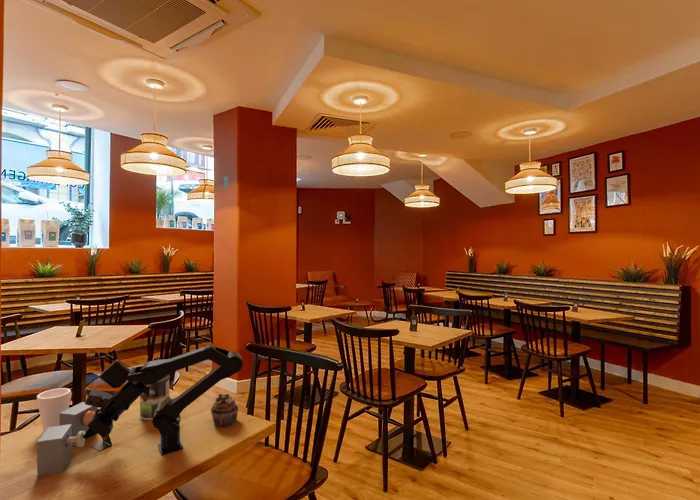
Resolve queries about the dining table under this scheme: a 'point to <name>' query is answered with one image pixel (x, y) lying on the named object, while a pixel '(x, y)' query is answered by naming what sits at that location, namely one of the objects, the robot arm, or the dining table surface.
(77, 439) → the sage button
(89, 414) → the terracotta button
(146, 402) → the coffee can
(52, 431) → the left button box
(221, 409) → the cupcake
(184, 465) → the dining table surface
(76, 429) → the right button box
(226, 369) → the robot arm
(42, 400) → the foam cup
